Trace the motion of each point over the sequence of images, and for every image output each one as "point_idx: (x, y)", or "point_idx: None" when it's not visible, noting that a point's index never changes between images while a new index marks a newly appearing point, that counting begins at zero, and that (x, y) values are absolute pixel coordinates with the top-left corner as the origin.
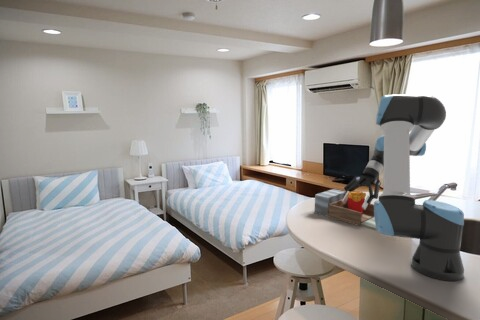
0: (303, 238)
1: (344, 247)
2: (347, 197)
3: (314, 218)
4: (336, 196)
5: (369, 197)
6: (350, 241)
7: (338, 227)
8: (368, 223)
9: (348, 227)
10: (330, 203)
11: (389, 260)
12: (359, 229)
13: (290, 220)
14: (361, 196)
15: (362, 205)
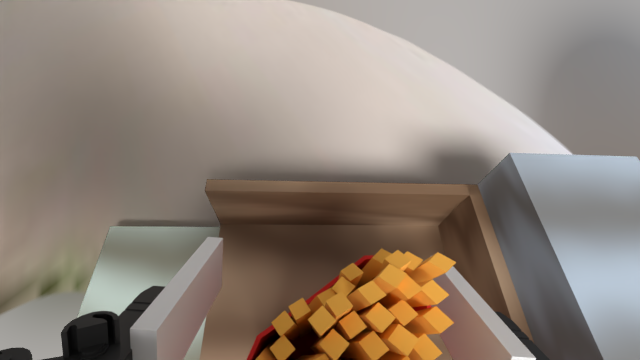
0: (322, 11)
1: (195, 25)
2: (455, 331)
3: (445, 154)
4: (561, 299)
5: (133, 339)
6: (195, 63)
7: (298, 136)
8: (181, 264)
9: (264, 165)
10: (487, 213)
11: (43, 29)
12: (209, 178)
13: (470, 79)
14: (273, 344)
15: (217, 243)
